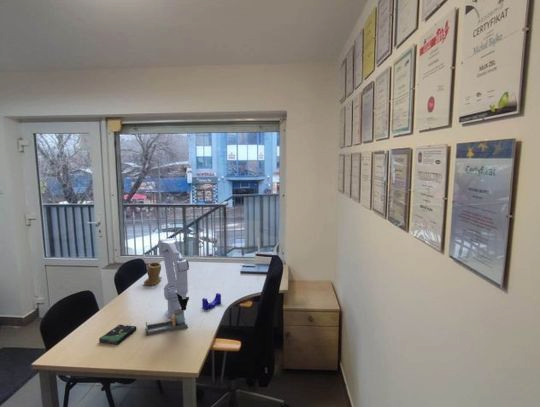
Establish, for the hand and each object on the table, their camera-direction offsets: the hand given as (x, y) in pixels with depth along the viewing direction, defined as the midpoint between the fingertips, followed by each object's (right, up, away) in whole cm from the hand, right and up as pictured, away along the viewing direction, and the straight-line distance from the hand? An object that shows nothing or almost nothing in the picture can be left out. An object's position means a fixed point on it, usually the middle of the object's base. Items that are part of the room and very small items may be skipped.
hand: (182, 307), depth 170 cm
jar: (-1, -8, -1) cm, 8 cm away
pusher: (-4, -9, -3) cm, 10 cm away
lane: (-7, -10, -4) cm, 13 cm away
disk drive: (-29, -11, -12) cm, 33 cm away
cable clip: (+12, -7, +24) cm, 28 cm away
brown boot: (-39, -3, +65) cm, 76 cm away
